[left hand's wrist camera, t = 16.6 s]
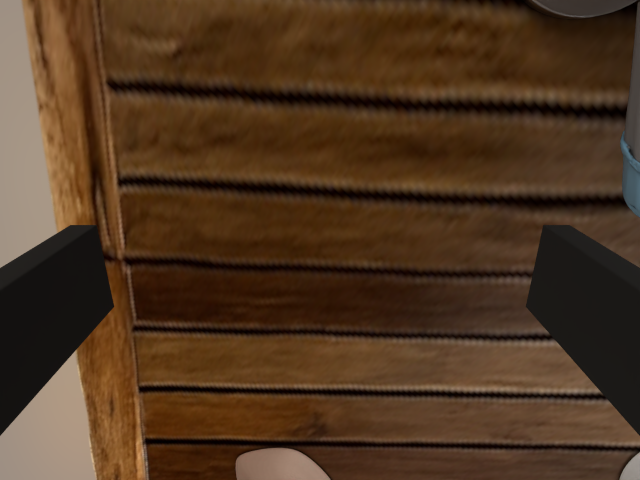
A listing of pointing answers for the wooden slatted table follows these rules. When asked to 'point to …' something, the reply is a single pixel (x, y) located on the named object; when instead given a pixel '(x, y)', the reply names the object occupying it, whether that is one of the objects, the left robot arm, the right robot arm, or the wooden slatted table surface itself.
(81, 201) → the wooden slatted table surface
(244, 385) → the wooden slatted table surface
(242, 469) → the anatomical model
